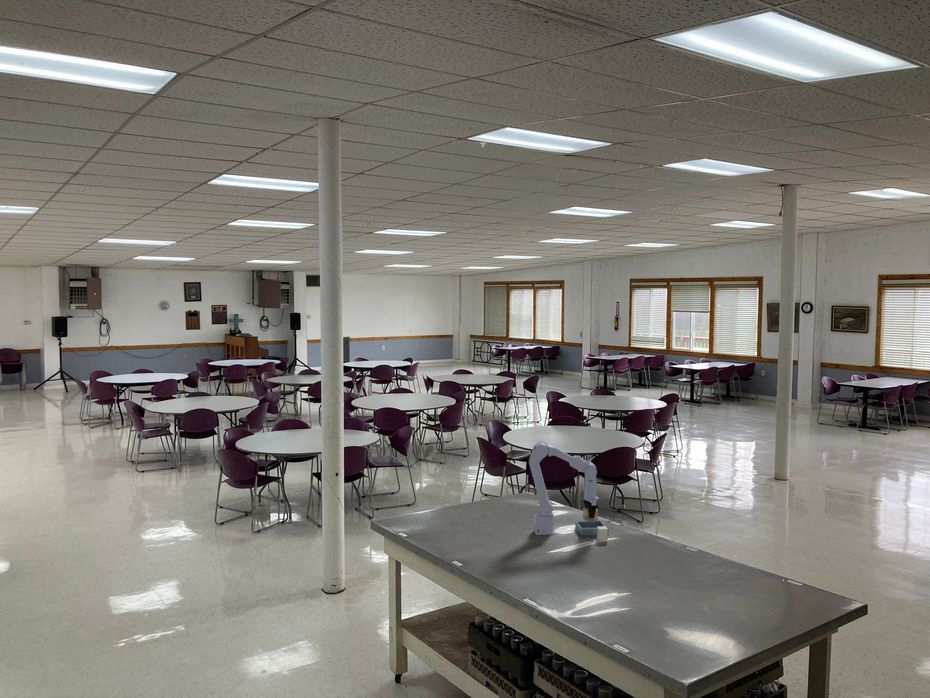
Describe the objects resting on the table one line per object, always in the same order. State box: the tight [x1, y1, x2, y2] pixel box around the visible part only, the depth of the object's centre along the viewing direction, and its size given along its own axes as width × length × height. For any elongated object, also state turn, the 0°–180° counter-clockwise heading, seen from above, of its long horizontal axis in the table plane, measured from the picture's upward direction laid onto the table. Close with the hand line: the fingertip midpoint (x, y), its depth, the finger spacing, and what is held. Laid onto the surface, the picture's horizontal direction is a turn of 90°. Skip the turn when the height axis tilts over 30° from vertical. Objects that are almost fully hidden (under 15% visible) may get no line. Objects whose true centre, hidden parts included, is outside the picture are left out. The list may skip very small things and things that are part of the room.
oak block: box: [582, 507, 599, 521], centre depth 327 cm, size 6×5×5 cm
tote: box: [574, 520, 609, 538], centre depth 329 cm, size 13×13×4 cm
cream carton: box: [596, 525, 609, 543], centre depth 318 cm, size 4×4×6 cm
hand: (590, 516), depth 327 cm, fingers closed on oak block, 5 cm apart
